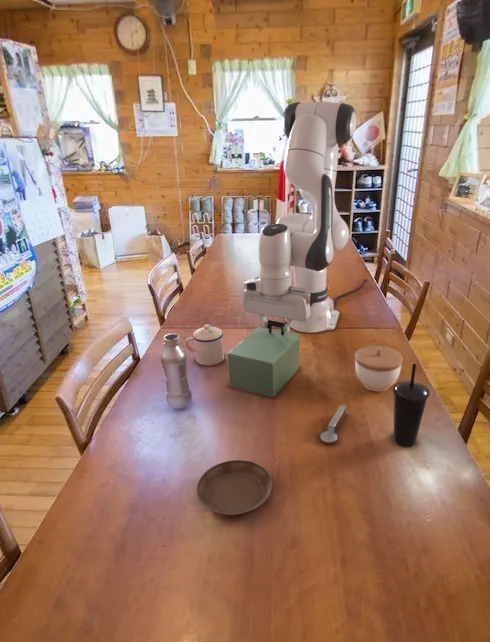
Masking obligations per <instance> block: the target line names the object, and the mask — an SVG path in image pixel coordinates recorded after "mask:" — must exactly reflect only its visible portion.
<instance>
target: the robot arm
mask: <svg viewBox="0 0 490 642" xmlns="http://www.w3.org/2000/svg"><path fill="white" fill-rule="evenodd" d="M281 119H282V120H281V122H282V123H281V124H282V131H283V134H284V135H285V136H286V139H288V140H287V145H286V150H285V155H284V159H283V161H284V162H283V173H284V175H285V178H286V179H287V181H288V183H290V184H291V185H292V186H294V187H295V188H297V189H298V190H299V194H300V196H301V198H302V200H304V201H305V202H307V203H308V204H309V205H310V208H311V214H306V213H298V212H294V213H287V214H282V215H280V217H279V218H278V219H277V221H276V223H271V224H267V225H265V226H264V227H262V228H261V230H260V234H259V240H258V262H259V265H260V269H259V275H256V276H253V277H251V278H250V279H248V280H247V281H245V282H244V283H243V289H244V290H243V292H242V300H241V301H242V303H241V304H242V309H243V310H244V312H246V313H252V314H255V315H256V314H257V315H258V318H259V319H260V321H261V323H262V327H263V328H267V329H269V326H268V324H267V323H268V319H267V317H266V316H268V317H274V318H279V319H285V320H284V321H285V322H286V323H285V325H284V326H283V332H289V333H290V331H291V329H292V330H294V331H297V332H300V333H310V334H311V333H312V334H313V333H320V332H324V331H332V330H333V331H334V330H335V329H336V326H337V323H338V321H339V317H340V311H338V310H337V309H334V307H335V303H336V301H337V300H338V299H340V298H342V297H346V296H347V295H350V294H352V293H355V292H357V291H359V290H360V289H361V288H362V287H363V286H364V285H365V282H367V279H366V278H363V281H362V283H361V285H360V286H358V287H357V288H355V289H353V290H351V291H348V292H346V293H343V294H341V295H339V296H338V295H337V296H336V297H335V298H334V299H332V298H331V297H330V296H329V289H330V287H331V286H330V284H329V283H327V275H328V273H327V271H328V269H327V267H329V266H330V265H331V264H332V262H333V260H334V252H335V251H336V252H337V251H342V249H343V248H345V246H347V243H348V241H349V239H350V229H349V226H348V224H347V222H346V221H345V220H344V219H343V218H342V216H341V215H340V213H339V212H338V209H337V206H336V201H335V191H336V189H335V188H336V180H337V172H338V164H339V149H341V148H343V146H344V145H345V144H347V143H349V142H350V140H351V139H352V138H353V136H354V133H355V131H356V128H357V124H358V123H357V122H358V121H357V114H356V109H355V108H354V107H353V105H351V104H348V103H344V102H341V103H338V102H333V101H332V102H331V101H307V102H301V101H297V102H292V103H289V104H287V106H286V107H285V108H284V111H283V114H282V118H281ZM291 267H293V283H294V284H293V285H294V286H292V270H291Z"/></svg>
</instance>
